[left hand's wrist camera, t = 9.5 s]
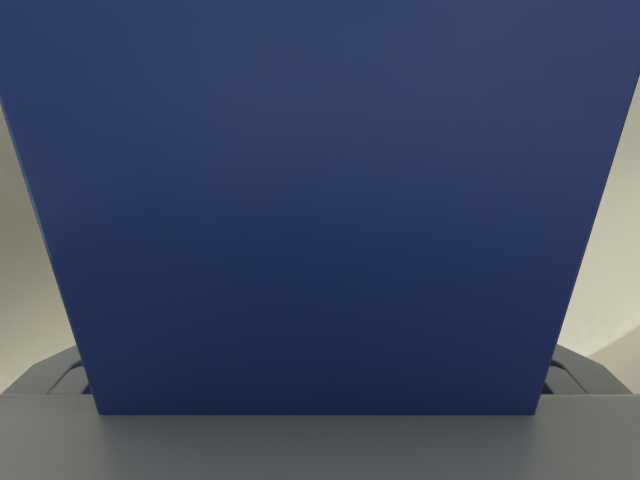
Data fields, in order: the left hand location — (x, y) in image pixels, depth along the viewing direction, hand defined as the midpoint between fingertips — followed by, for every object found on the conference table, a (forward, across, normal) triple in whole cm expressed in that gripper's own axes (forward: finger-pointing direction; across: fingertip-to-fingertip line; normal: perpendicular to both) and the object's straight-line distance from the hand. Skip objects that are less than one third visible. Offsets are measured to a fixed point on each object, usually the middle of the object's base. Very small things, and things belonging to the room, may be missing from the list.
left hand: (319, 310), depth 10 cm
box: (+6, 0, +8) cm, 10 cm away
